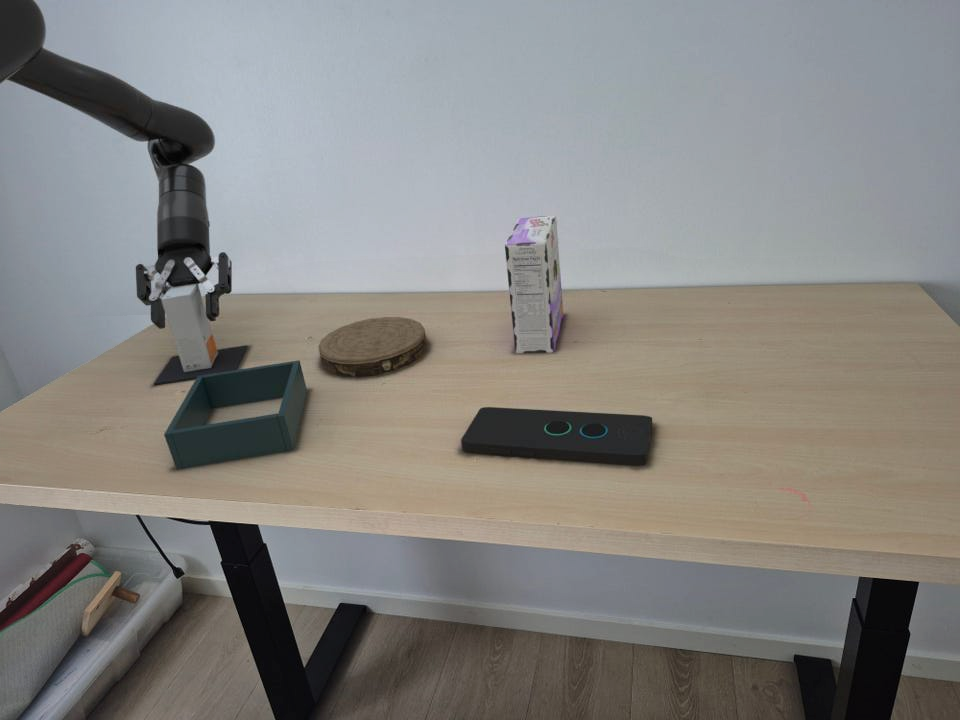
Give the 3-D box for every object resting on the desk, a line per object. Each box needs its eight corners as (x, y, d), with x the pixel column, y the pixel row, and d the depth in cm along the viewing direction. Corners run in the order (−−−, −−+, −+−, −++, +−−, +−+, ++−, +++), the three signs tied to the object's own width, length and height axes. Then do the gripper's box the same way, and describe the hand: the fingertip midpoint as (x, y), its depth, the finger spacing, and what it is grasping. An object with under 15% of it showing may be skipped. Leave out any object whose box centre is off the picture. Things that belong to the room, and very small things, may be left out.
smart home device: (645, 455, 70) (458, 441, 76) (645, 469, 71) (460, 455, 77) (653, 413, 77) (481, 404, 83) (653, 427, 78) (483, 417, 84)
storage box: (176, 471, 81) (163, 434, 79) (208, 408, 95) (197, 375, 93) (294, 452, 82) (284, 415, 80) (307, 392, 96) (299, 360, 94)
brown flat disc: (310, 353, 108) (306, 336, 107) (404, 326, 114) (401, 309, 113) (340, 390, 95) (335, 371, 94) (444, 357, 101) (441, 338, 100)
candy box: (527, 318, 111) (518, 216, 104) (564, 317, 110) (557, 213, 103) (514, 355, 99) (502, 242, 92) (555, 354, 98) (546, 240, 91)
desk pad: (154, 387, 104) (153, 383, 104) (173, 359, 113) (172, 356, 113) (236, 374, 104) (234, 370, 104) (248, 348, 114) (247, 345, 113)
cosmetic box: (212, 368, 106) (189, 294, 101) (183, 373, 106) (159, 299, 101) (219, 353, 112) (198, 282, 106) (192, 357, 111) (169, 286, 106)
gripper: (125, 221, 106) (124, 320, 100) (221, 208, 106) (225, 305, 101) (147, 246, 113) (147, 339, 107) (237, 233, 113) (242, 325, 108)
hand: (185, 322), depth 104 cm, fingers open, 7 cm apart
